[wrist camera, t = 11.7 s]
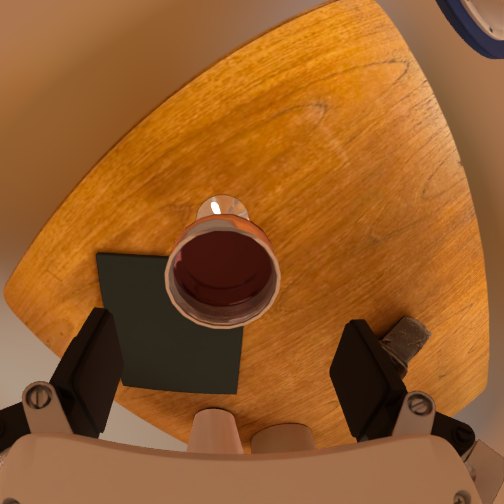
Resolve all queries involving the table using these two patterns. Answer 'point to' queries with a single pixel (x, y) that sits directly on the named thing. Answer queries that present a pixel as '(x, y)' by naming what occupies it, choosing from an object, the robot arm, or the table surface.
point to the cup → (214, 433)
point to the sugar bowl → (282, 439)
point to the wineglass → (222, 267)
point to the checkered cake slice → (404, 343)
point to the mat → (164, 331)
